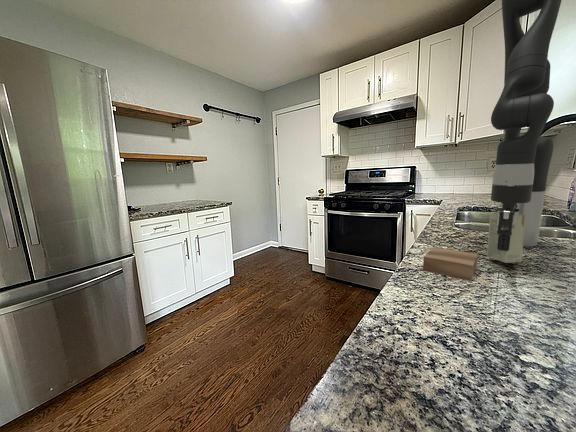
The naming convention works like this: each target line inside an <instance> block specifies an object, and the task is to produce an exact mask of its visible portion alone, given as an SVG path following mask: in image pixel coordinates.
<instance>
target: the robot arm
mask: <svg viewBox="0 0 576 432" xmlns="http://www.w3.org/2000/svg"><path fill="white" fill-rule="evenodd" d="M561 5H562V0H501V13H502V15H501V17H502V26H503V27H502V28H503V36H504V76H503V77H504V79H503V80H504V82H503V84H504V85H503V89H502V92H501V93H500V96H499V98H498V100H497V102H496V104H495V105H494V108H493V111H492V112H491V113H492V114H491V115H490V116H491V117H490V121H491V122H490V123H491V125H492V127H493V128H494V129H495V130H498V131H504V137H503V138H504V139H503V141H500V142H499V143H498V146H497V151H496V157H495V158H496V159H495V167H494V171H493V175H492V185H491V194H490V200H491V201H492V202H495V203H501V204H502V206H501V207H499V208H498V209H497V212H498V213H497V215H498V221H497V226H498V231H497V234H498V235H499V236H498V245H497V249H498V250H502V251H508V250H509V245H510V237H511V235H512V229H513V228H515V226H516V218H517V216H518V215H519V214H523V215H527V216H526V225H525V235H524V244H523V247H536V246H538V241H539V236H540V229H541V222H542V216H543V208H544V202H545V194H546V187H547V182H548V175H549V169H550V165H551V161H552V157H553V152H554V140H553V139H552V138H551V137H548V136H541V134H542V133H543V130H544V128H545V126H546V124H547V122H548V120H549V118H550V116H551V115H552V112H553V110H554V105H555V102H554V98H553V97H552V96H551V95H550V94H548V92H549V90H550V80H551V63H550V61H549V59H548V58H549V49H550V44H551V40H552V36H553V33H554V29H555V26H556V23H557V19H558V16H559V12H560V9H561ZM535 12H539V13H538V15H537V16H536V18H535V20H534V21H533V23H532V24H531V25H530V26H529V29H528V30H527V31H526V32H524V30H523V28H522V25H521V20H520V18H522V17H525V16H528V15H530V14H532V13H535ZM523 128H528V130H527V131H526V132H525V133H523V134H522V135H520V134H521V131H522V129H523ZM540 136H541V137H540ZM513 215H516V217H515V218H514V219H513ZM512 222H513V223H512ZM503 227H509V230H501V229H502V228H503Z"/></svg>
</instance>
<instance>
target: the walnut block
mask: <svg viewBox="0 0 576 432" xmlns="http://www.w3.org/2000/svg"><path fill="white" fill-rule="evenodd" d="M478 259H479V254H478V253H476V252H475V253H473V252H469V251H468V252H467V251H462V250H455V249H448V248H443V247H435V246H433V247H431V249H430V250H429V251H428V252H427V253H425V255H424V256H423V263H422V271H423V272H428V273H433V274H436V275H442V276H448V277H452V278H456V279H461V280H465V281H469V282H472V280H473V278H474V275H475V273H476V271H477V267H478Z"/></svg>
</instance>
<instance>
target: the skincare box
mask: <svg viewBox="0 0 576 432" xmlns="http://www.w3.org/2000/svg"><path fill="white" fill-rule="evenodd" d="M497 213H498V211H490V213H489V225H488V237H487V249H486V250H487V251H486V256H488V257H490V258H492V259H494V260H497V261H500V262H502V263H505V264H507V263H508V264H509V263H512V264H513V263H522V262H523V254H524V253H523V252H524V246H523V244H524V235H525V225H526V216H527V215H523V214H519V215H518V216H517V218H516V226H515V228H513V229H512V235H511V237H510V245H509V250H508V251H502V250H498V249H497V245H498V236H499V235H498V234H497V231H498V226H497V221H498V215H497ZM515 217H516V215H513V219H514V218H515ZM512 223H513V222H512ZM501 230H509V227H503V228H502V229H501Z"/></svg>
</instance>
